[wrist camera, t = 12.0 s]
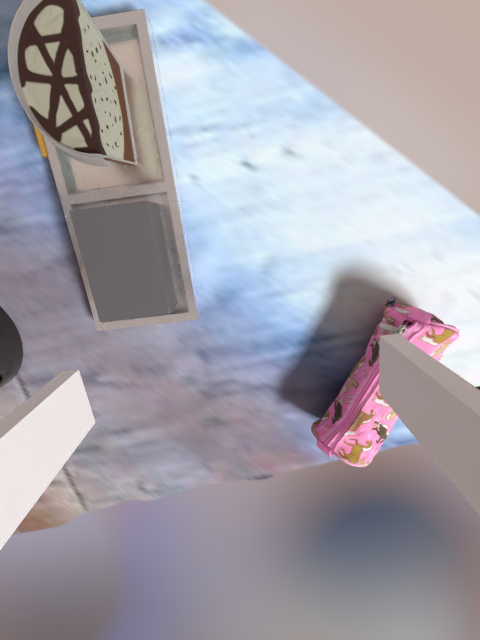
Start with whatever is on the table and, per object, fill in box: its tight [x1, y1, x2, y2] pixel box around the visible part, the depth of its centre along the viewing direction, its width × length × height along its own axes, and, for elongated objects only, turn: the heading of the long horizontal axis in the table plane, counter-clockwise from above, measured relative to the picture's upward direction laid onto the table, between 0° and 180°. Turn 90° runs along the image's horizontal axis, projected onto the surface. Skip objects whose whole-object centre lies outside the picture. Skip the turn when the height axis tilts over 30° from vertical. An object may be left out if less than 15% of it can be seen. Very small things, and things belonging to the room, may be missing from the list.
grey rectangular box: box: [69, 200, 178, 322], centre depth 35 cm, size 8×12×5 cm, turn 7°
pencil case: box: [311, 297, 459, 467], centre depth 38 cm, size 21×9×9 cm, turn 157°
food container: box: [8, 0, 137, 167], centre depth 28 cm, size 12×6×10 cm, turn 4°
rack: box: [33, 9, 201, 331], centre depth 35 cm, size 14×31×3 cm, turn 7°
